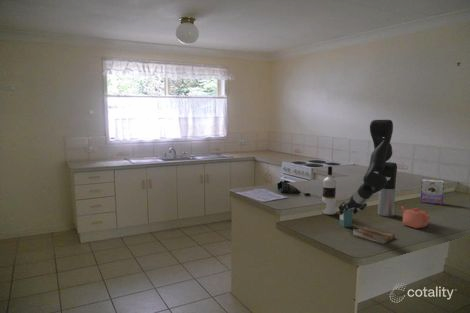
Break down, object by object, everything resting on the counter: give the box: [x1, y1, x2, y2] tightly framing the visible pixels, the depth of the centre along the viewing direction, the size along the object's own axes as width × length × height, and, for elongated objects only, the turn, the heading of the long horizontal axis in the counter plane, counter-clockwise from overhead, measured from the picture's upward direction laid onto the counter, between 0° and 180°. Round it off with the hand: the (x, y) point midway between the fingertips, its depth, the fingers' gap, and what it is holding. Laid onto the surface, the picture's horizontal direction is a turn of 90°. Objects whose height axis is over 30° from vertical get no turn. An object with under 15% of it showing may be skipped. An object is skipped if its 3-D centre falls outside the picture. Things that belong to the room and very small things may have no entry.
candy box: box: [419, 178, 445, 206], centre depth 245 cm, size 14×6×16 cm, turn 58°
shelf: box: [352, 225, 396, 244], centre depth 177 cm, size 13×16×3 cm
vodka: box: [321, 166, 337, 216], centre depth 217 cm, size 9×9×30 cm
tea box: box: [338, 203, 354, 228], centre depth 194 cm, size 5×5×12 cm
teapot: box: [400, 205, 431, 229], centre depth 195 cm, size 12×18×10 cm, turn 29°
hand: (347, 212), depth 193 cm, fingers open, 8 cm apart
